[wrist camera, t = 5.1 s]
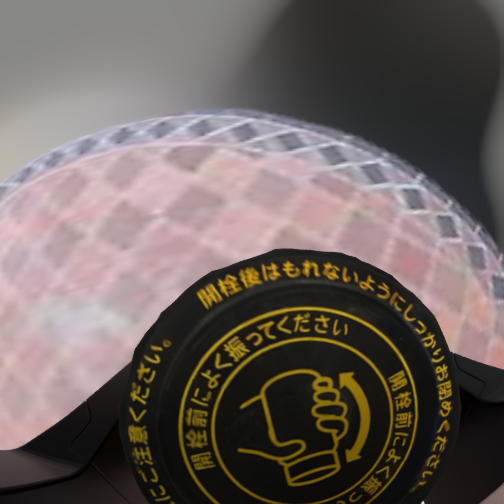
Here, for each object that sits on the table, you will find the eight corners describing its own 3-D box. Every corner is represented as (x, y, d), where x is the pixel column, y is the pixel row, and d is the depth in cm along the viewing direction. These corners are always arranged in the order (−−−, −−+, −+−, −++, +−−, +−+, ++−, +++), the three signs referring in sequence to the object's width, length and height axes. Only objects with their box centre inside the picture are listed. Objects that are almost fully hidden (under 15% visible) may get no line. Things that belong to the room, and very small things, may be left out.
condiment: (168, 399, 13) (-1, 402, 3) (270, 287, 16) (314, 101, 6) (275, 481, 11) (342, 631, 1) (369, 362, 14) (549, 289, 4)
